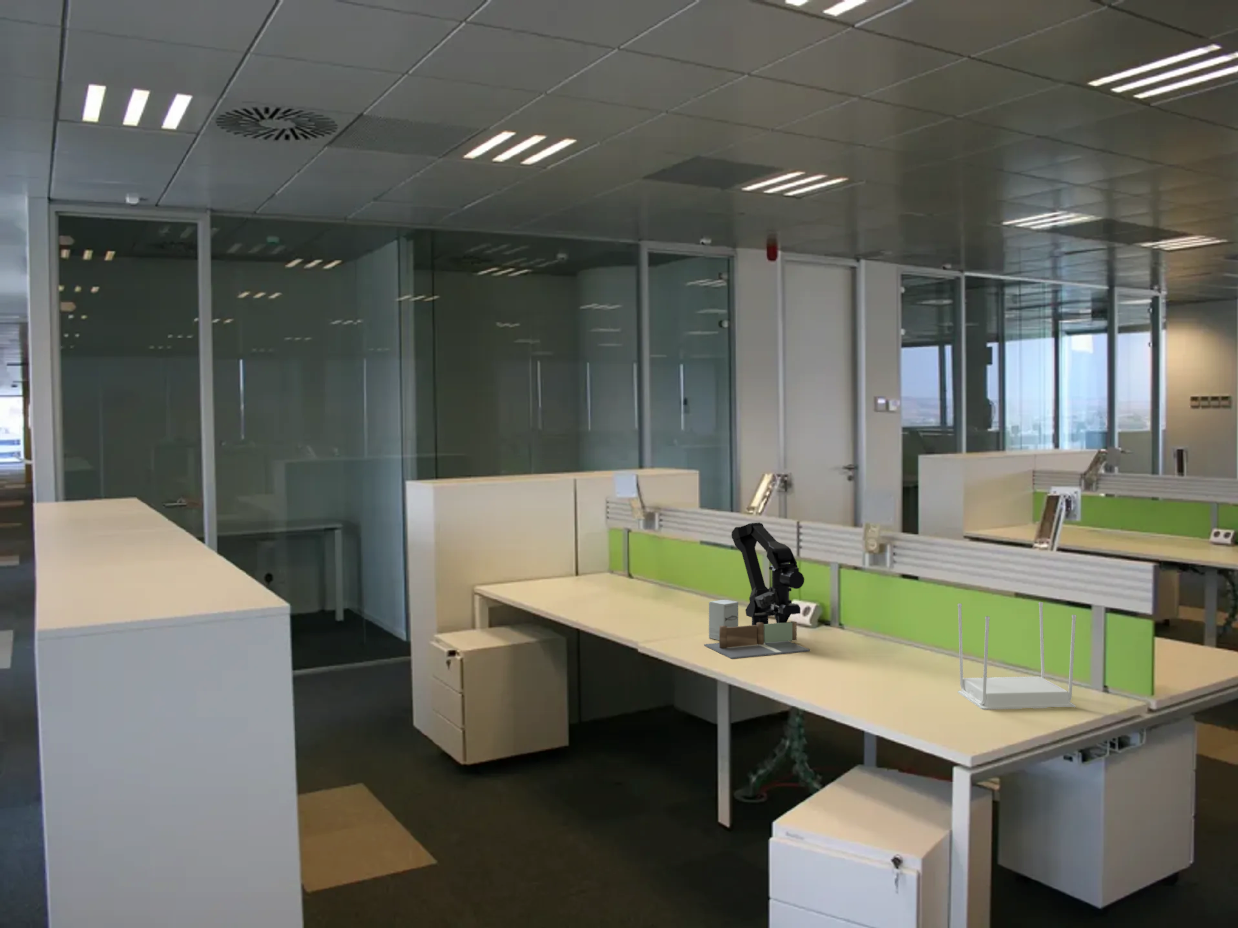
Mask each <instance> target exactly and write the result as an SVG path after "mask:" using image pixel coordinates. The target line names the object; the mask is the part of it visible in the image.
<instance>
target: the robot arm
mask: <svg viewBox="0 0 1238 928" xmlns="http://www.w3.org/2000/svg"><path fill="white" fill-rule="evenodd" d="M731 539H732V541H733V543H734V545H735V547H736V548H737V549H738V551H740V552H741V555H742V559H743V563H744V566H745V569H746V574H747V578H748V582H749V584H750V588H751V590H750V595H749V599H748V600H749V603H748V604H747V606H746V608H745V610H744V611H745V615H746V617H749V618H751V625H756V623H758V622H761V623H764V624H769V617H774V618H775V623H784V622H789V621H788V620H789V618H791V617H790V616H791V615H795V614H796V615H797V614H798V615H799V614H801V607H800V605H798V604H797V603H792V600H791V599H790V592H792V589H795V590H797V589H801V588H802V587H803V585H804V583H805V577H804V575H803V573H802V572H800V568H799V565H798V562H797V560H796V559H795V556H794V554H793V550H792V549H791V548H790V546H787V545H786V544H785V543H782V542H779V541H777V540H776V539H775V538H774V536H773V535H772V534H771V533H770V532H769V531H768V530H767V529H766V528H765V527H764V524H763V523H761V522H750V523H748V524H746V525H742V526H736V527H734V528H733V529H732V531H731ZM757 542H758V543H757ZM757 544H759V545H760V547H762V548H763V549H764V550H765V552H766V558H767V559H768V561H769V563H770V564H771V565H770V566H769V568H768V569H769V570H771V586H770V587H769V588H768V587H767V586H766V584H765V580H764V576H763V572H762V569H761V565H760V562H759V559H758V558H759V557H758V554H757V551H756V545H757Z"/></svg>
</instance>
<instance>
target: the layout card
mask: <svg viewBox="0 0 1238 928" xmlns="http://www.w3.org/2000/svg"><path fill="white" fill-rule="evenodd" d="M703 645H704V647H706V648H708V649H711V650H712V651H715V652H716V653H719V654H721V655H722V656H724V657H727V658H729V659H731V660H733V659H745V658H754V657H763V656H774V655H784V654H793V653H804V652H810V651H811V649H809V648H806V647H804V646H802V645H799V644H797V643H794V642H793V641H781V642H771V643H764V644H763V645H758V644H757V645H748V646H738V647H727V648H724V649H722V648H719V642H716V643H715V642H714V643H712V642H711V643H704V644H703Z"/></svg>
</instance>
